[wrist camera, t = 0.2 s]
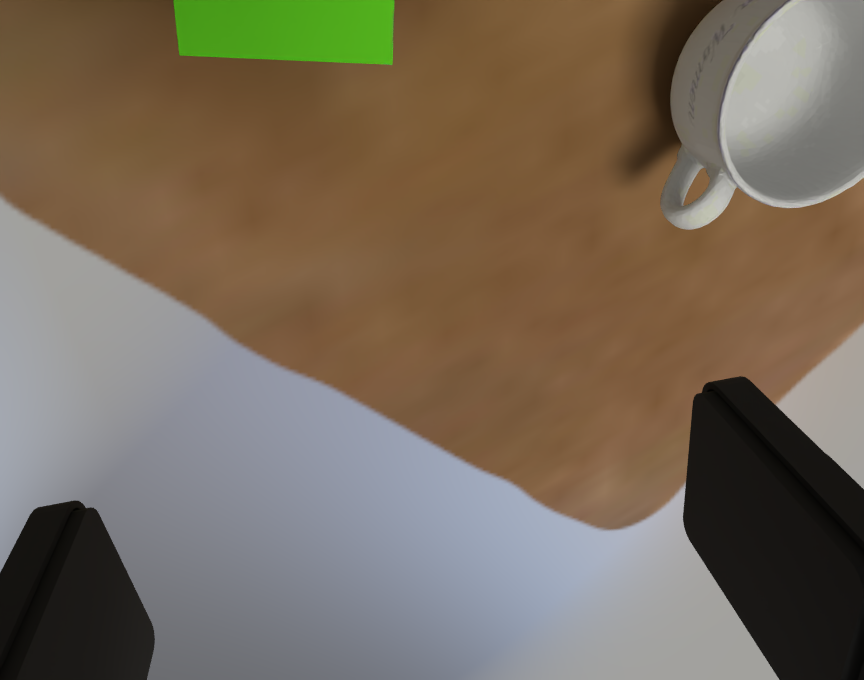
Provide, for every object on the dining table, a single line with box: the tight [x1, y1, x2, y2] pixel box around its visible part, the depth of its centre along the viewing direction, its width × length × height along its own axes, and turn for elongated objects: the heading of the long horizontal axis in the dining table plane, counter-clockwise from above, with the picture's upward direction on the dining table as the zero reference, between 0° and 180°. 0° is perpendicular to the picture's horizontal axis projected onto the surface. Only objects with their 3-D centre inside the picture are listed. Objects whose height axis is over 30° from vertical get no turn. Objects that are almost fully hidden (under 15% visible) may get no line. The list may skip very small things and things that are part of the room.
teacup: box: [660, 0, 864, 229], centre depth 37 cm, size 14×11×8 cm
